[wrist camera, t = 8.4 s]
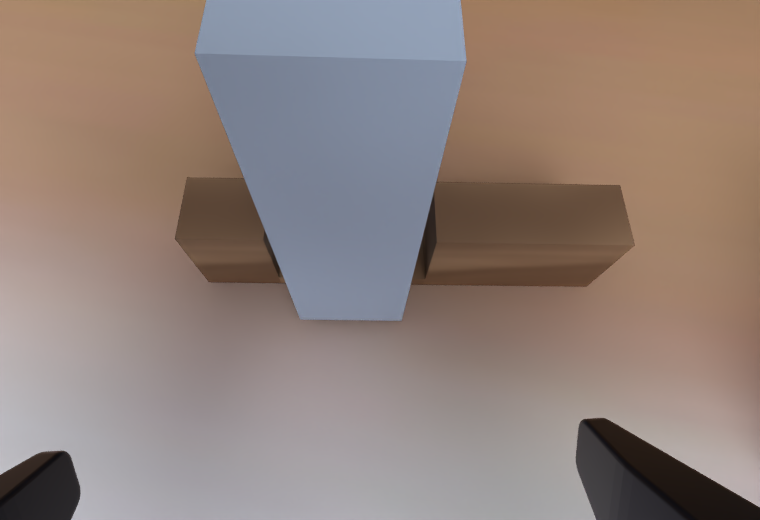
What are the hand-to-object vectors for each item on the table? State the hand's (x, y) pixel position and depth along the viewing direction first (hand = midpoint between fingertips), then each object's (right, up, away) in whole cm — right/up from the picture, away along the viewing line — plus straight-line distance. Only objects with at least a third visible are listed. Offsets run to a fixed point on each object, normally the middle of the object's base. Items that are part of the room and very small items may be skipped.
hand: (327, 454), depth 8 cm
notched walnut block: (+2, +4, +12) cm, 13 cm away
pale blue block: (0, +4, +12) cm, 12 cm away
